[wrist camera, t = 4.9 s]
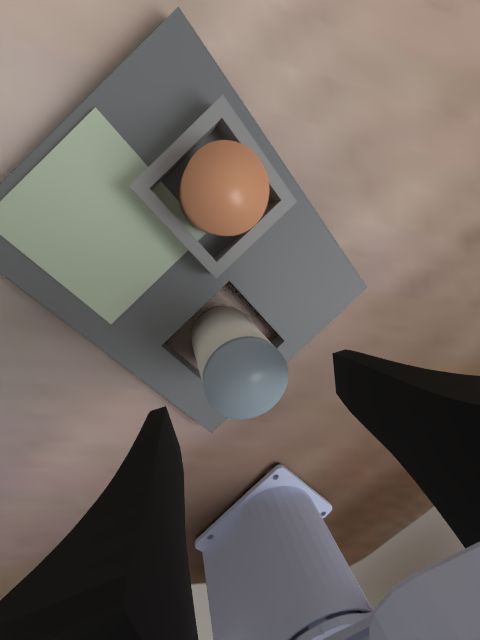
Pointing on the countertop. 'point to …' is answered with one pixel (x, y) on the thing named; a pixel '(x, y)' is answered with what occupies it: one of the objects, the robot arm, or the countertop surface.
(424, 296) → the countertop surface
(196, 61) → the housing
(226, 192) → the orange round piece
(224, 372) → the cartridge
